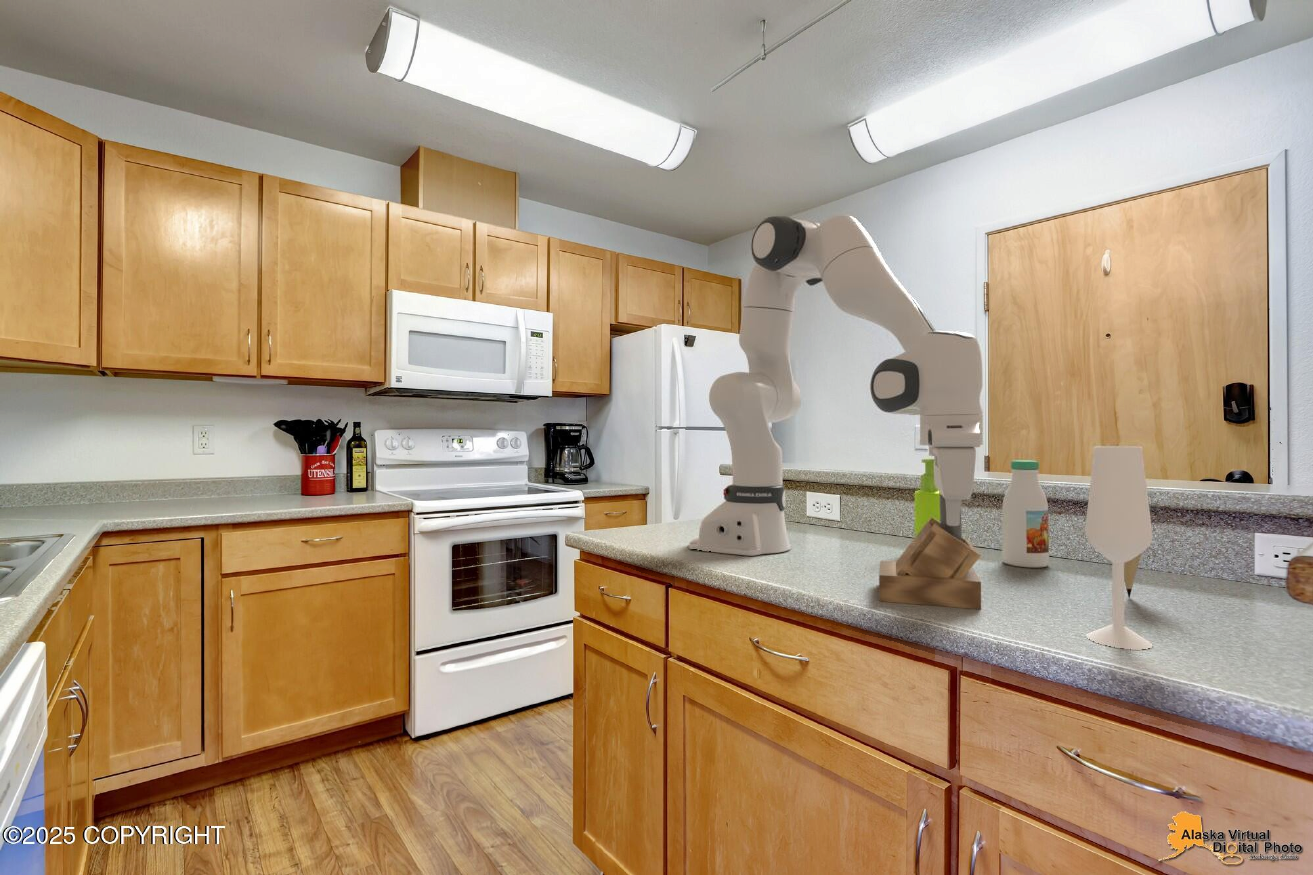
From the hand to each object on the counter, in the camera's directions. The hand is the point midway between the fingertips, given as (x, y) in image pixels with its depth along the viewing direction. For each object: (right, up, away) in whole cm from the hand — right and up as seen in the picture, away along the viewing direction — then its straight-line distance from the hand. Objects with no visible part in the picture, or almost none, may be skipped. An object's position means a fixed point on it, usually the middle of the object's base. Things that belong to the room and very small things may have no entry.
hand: (951, 522), depth 97 cm
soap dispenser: (+12, -11, +33) cm, 37 cm away
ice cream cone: (+27, -12, -1) cm, 29 cm away
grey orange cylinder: (0, -4, 0) cm, 4 cm away
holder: (-3, -12, +1) cm, 12 cm away
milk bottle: (+25, -11, +23) cm, 36 cm away
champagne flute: (+11, -12, -20) cm, 26 cm away
